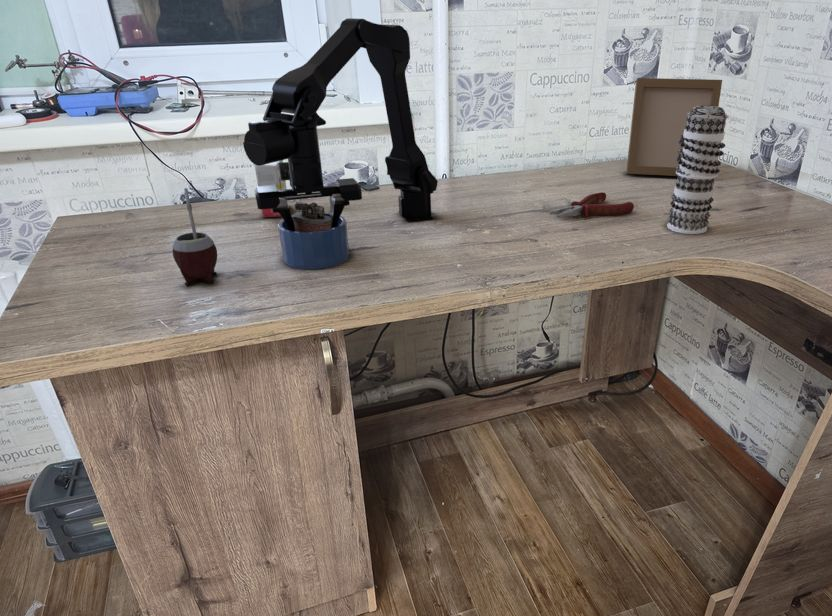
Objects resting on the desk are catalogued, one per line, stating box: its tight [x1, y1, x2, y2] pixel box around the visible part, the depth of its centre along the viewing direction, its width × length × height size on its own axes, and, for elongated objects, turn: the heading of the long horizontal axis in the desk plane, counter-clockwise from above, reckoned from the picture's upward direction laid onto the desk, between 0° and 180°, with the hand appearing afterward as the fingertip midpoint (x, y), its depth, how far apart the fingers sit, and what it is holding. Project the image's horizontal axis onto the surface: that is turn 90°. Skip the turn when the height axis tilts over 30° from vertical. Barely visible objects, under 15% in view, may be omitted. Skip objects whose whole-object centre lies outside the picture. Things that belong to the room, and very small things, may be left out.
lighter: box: [291, 201, 332, 232], centre depth 119 cm, size 8×3×10 cm, turn 68°
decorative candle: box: [666, 105, 729, 235], centre depth 131 cm, size 9×9×25 cm
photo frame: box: [625, 77, 723, 177], centre depth 174 cm, size 15×22×25 cm
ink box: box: [253, 160, 290, 218], centre depth 143 cm, size 9×5×12 cm, turn 5°
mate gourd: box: [172, 187, 218, 287], centre depth 108 cm, size 8×8×15 cm
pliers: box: [548, 191, 635, 218], centre depth 146 cm, size 12×20×3 cm, turn 122°
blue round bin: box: [277, 211, 350, 270], centre depth 120 cm, size 12×12×7 cm
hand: (314, 237), depth 120 cm, fingers open, 7 cm apart
